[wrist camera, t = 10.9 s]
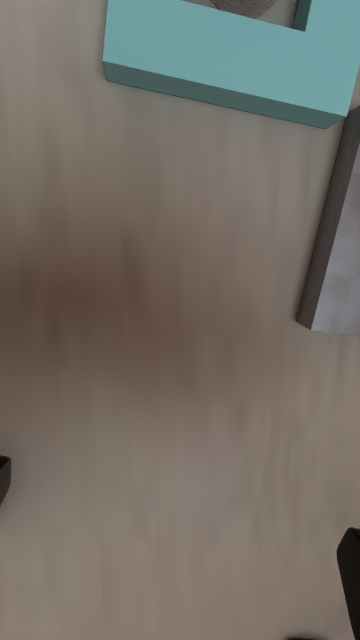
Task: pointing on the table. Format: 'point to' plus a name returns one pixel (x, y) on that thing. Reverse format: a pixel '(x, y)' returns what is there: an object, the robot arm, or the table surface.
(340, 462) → the table surface
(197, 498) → the table surface
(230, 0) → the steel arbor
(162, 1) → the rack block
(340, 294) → the socket block
